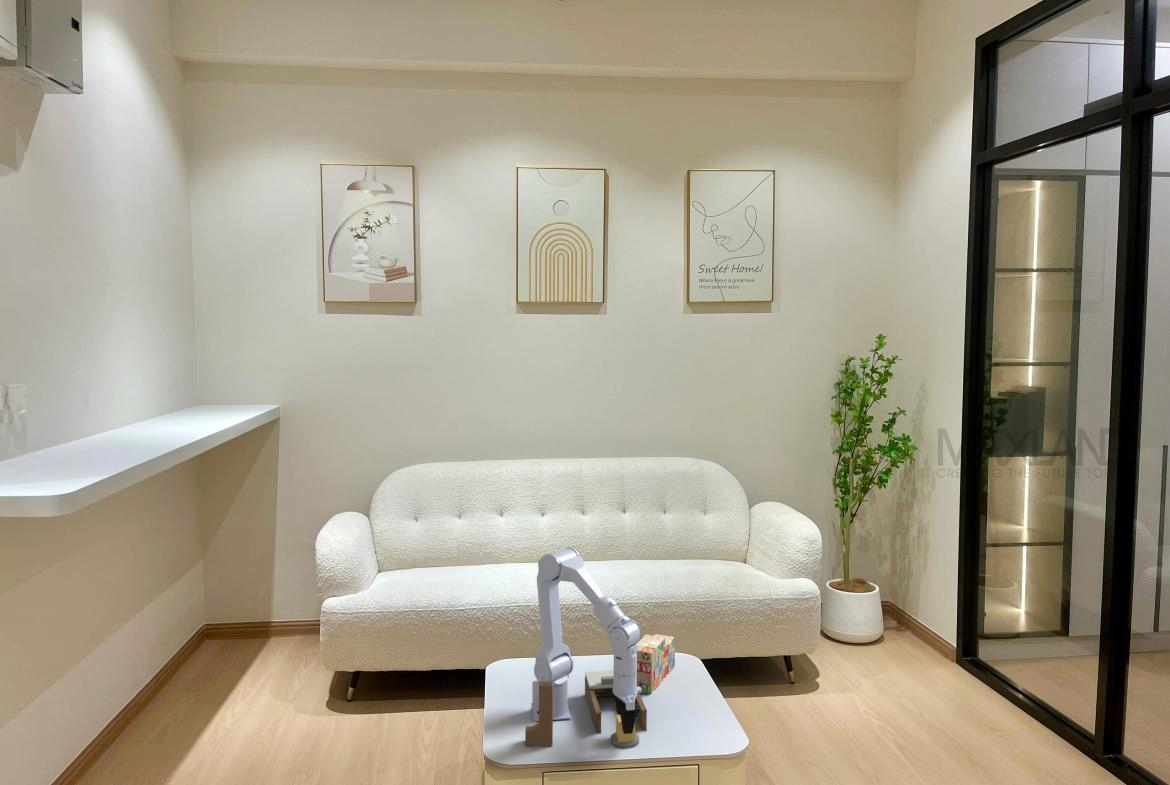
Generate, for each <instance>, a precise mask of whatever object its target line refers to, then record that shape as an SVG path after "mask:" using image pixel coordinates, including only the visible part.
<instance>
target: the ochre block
mask: <svg viewBox="0 0 1170 785" xmlns="http://www.w3.org/2000/svg"><path fill="white" fill-rule="evenodd" d="M615 732H616V736H617V739H618V742H631V741H635V733H636V723H635V724H634V728H633V732H632V734H624V733H623V729H622V723H621V717H620V715H617V714H616V715H615Z"/></svg>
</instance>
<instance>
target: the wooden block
mask: <svg viewBox="0 0 1170 785" xmlns="http://www.w3.org/2000/svg"><path fill="white" fill-rule="evenodd" d="M553 721H554V720H553V682H552V681H540V682H539V721H537V723H535V724H533V725H526V726H525V732H524V733H525V741H524V742H525V744H524V745H525V747H553V743H554V742H553V739H554V738H553V735H554V732H553V730H554V729H553V727H554V725H553V724H554V723H553Z"/></svg>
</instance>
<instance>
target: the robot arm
mask: <svg viewBox="0 0 1170 785" xmlns="http://www.w3.org/2000/svg"><path fill="white" fill-rule="evenodd" d="M584 564H585V563H584V558H583V557H582V556H581V555H580V553H579V552H578V551H577V550H576V548H574V547H570V546H568V547H565V548H563V549H560V550H557V551H554V552H551V553H546V554H544V555H542V557H541V558H540V559H539V560H538V561H537V568H538V571H537V575H536V584H537V585H536V587H537V588H536V589H537V597H538V598H537V599H538V610H539V621H540V622H539V624H540V634H541V646H540V648H539V649H538V651H537V652H536V654H535V663H534V666H533V674H534V677H535V679H536V680H533V681H532V683H531V686H532V688H531V689H532V690H531V691H532V692H531V693H532V694H531V698H532V699H531V705H530V706H531V708H530V709H531V711H532V717H533V718H532V719H533V721H534V722H538V721H539V682H540V681H552V682H553V721H559V720H570V719H571V713H570V710H569V705H568V679H569V678H570V674H571V673H572V672H573V669H574V661H573V658H572V656H571V652H570V651H571V650H570V647H569V646H568V645H566V644H565V643H564V639H563V630H562V628H563V627H562V626H563V625H562V616H561V604H560V593H559V592H560V591H559V584H560V583H561V582H568V583H569V582H570V583H573V584H574V585H575V586H576V587H577V589H578V590H579V591H580V592H581V593H582V594H583V596H584V597H586V599H587V600H588V601H589V602H590V603H591V605H592V606H593V607H592V612H593V614H594V615H595V617H596V618H597V619H598V621H599V623H601V625H602V626H603V628H605V630H606V631H607V632H608V634H609V635H608V641H609V643H610V646H611V648H612V654H613V670H614V687H613V688H611V689H610V691H611V693H612V695H611V696H612V697H613V700H614V705H615V711H616V715H620V717H621V723H622V729H623V733H624V734H632V732H633V728H634V724H635V725H636V720H637V718H636V717H637V715H638V713H639V712H640V709H641V707H640V705H635V698H636V696H637V693H639V694H640V693H641V692H642V689H641V687H637V643H638V642H639V641H640V640H641V639H642V638H643V637H642V636H643V633H642V632H643V631H642V629H641V626H640V624H639V623H638V622H637V621H636V620H634V619H631V618H630V617H629V616H626V614H624V612H623V611H622V610H621V609H620V608H619V606H618V605H617V602H616V601H615V599H613V598H612V597H610V596H604V594H603V592H602V591H601V590H600V588H599V586H598V585H597V584H596V582H595V581H594V579H593V578H592V576H591V575H590V573H589V572H588V571H587V569H586V567H585V565H584ZM641 694H642V693H641Z"/></svg>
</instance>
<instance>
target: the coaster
mask: <svg viewBox="0 0 1170 785" xmlns="http://www.w3.org/2000/svg"><path fill="white" fill-rule="evenodd" d="M610 743H611V745H613V746H614V747H617V748H621V749H631V748H634V747H637V746H638V745H639V744H640V737H639V734H637V733H636V732H635V741H631V742H618V739H617V736H616V731H615V732H613V733H612V734H611V735H610Z"/></svg>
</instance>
